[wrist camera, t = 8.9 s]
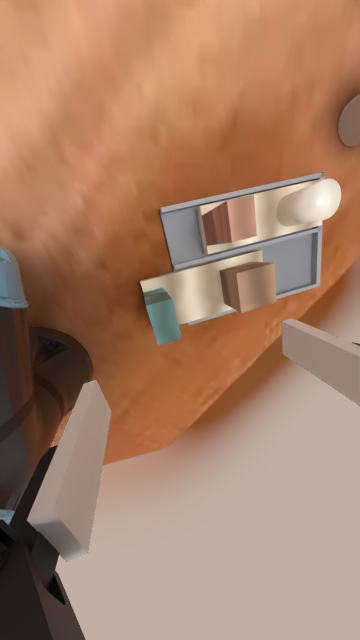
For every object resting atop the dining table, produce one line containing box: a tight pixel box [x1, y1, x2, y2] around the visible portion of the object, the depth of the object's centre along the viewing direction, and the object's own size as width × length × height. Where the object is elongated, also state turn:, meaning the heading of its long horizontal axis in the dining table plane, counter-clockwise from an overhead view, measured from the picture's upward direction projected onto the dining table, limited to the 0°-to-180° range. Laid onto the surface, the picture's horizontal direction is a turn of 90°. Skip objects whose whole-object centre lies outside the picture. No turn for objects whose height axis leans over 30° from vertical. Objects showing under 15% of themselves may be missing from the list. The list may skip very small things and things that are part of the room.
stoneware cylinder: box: [277, 179, 341, 227], centre depth 26 cm, size 4×4×6 cm
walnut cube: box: [219, 262, 277, 313], centre depth 28 cm, size 6×6×6 cm
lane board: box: [159, 172, 324, 326], centre depth 32 cm, size 26×18×2 cm
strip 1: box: [196, 179, 323, 254], centre depth 26 cm, size 20×6×10 cm, turn 103°
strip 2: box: [140, 250, 263, 345], centre depth 28 cm, size 20×8×10 cm, turn 103°
